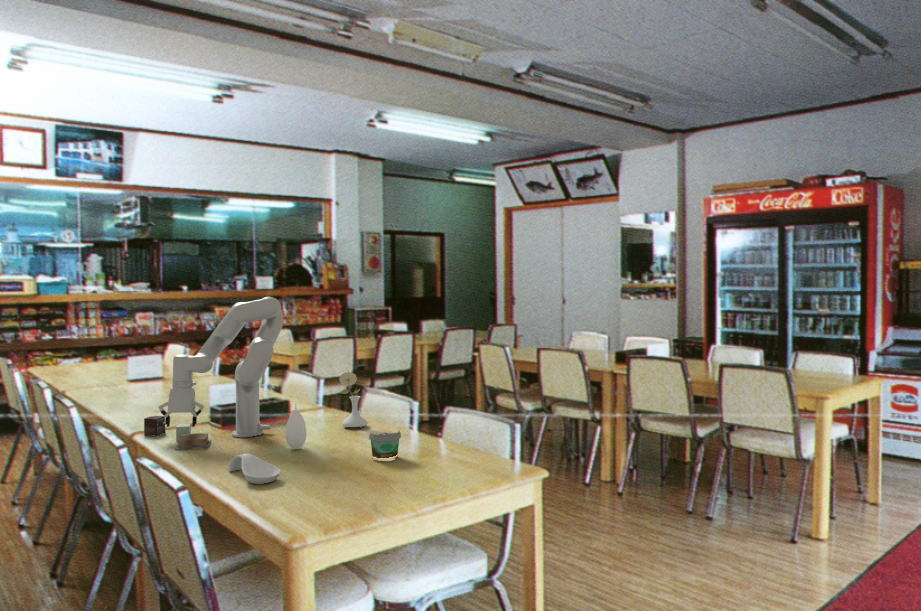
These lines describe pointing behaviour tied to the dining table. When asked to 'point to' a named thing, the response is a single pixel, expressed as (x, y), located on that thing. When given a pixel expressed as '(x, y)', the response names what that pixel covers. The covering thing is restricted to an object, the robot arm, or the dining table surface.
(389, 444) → the food container
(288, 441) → the sauce bottle
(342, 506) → the dining table surface
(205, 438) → the plinth
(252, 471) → the spoon rest
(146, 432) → the box
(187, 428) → the block
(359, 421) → the flower in vase
